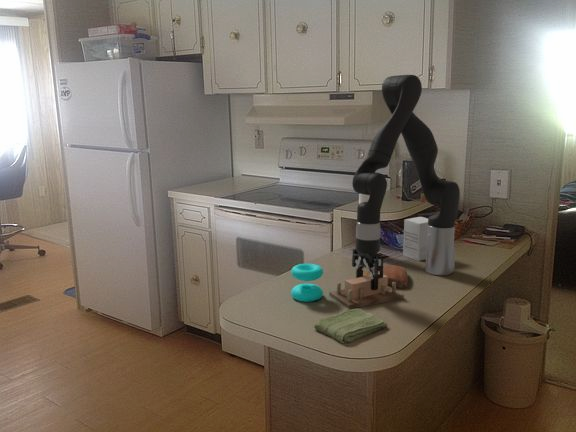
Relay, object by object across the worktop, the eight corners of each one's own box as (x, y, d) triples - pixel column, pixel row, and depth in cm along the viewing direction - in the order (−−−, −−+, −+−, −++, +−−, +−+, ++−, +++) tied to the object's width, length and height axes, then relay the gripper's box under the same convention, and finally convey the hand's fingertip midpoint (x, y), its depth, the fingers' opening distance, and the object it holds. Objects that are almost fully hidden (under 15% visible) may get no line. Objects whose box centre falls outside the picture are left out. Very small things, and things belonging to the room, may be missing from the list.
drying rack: (381, 286, 182) (382, 272, 181) (403, 298, 171) (404, 284, 170) (329, 295, 174) (329, 281, 172) (348, 308, 163) (349, 294, 162)
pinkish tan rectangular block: (379, 287, 177) (379, 272, 176) (387, 291, 174) (387, 276, 173) (344, 295, 170) (344, 280, 169) (352, 299, 167) (352, 284, 166)
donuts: (297, 260, 177) (326, 264, 173) (297, 289, 179) (326, 293, 175) (286, 270, 167) (317, 273, 164) (286, 300, 170) (317, 304, 166)
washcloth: (389, 328, 150) (390, 317, 150) (344, 347, 139) (344, 335, 139) (355, 314, 160) (356, 304, 160) (310, 330, 149) (310, 319, 149)
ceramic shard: (365, 258, 195) (407, 266, 193) (362, 275, 196) (404, 284, 194) (364, 265, 181) (409, 274, 179) (360, 284, 182) (405, 293, 179)
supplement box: (418, 252, 220) (420, 216, 217) (435, 257, 213) (437, 220, 209) (401, 255, 215) (403, 218, 212) (418, 261, 208) (420, 223, 205)
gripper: (391, 240, 163) (389, 291, 167) (365, 229, 176) (364, 277, 179) (370, 243, 160) (368, 294, 164) (345, 232, 173) (344, 280, 176)
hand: (366, 285), depth 171 cm, fingers open, 8 cm apart
